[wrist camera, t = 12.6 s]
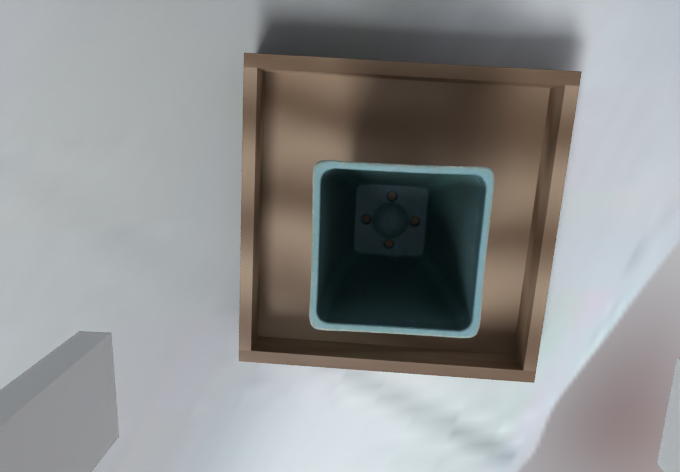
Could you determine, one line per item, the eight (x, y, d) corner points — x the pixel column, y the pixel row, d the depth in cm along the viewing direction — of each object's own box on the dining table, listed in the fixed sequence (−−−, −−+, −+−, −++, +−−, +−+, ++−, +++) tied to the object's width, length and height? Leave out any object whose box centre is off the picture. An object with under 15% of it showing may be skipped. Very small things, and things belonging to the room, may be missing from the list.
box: (254, 59, 33) (243, 52, 30) (561, 76, 32) (581, 71, 29) (248, 342, 37) (238, 361, 34) (520, 361, 36) (534, 382, 33)
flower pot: (321, 280, 35) (308, 331, 26) (325, 150, 33) (312, 159, 24) (449, 286, 35) (479, 340, 26) (460, 156, 33) (497, 166, 24)
